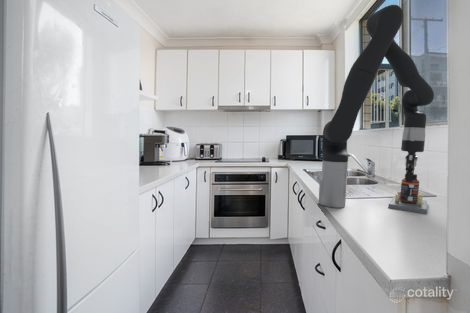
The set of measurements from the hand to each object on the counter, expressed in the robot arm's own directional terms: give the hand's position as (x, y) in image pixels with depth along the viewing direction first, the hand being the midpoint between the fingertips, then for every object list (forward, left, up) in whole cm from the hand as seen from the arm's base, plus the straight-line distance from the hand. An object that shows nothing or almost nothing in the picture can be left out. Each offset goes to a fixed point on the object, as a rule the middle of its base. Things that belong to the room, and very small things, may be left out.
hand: (409, 180), depth 108 cm
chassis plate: (0, 0, -10) cm, 10 cm away
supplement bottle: (0, 0, -9) cm, 9 cm away
